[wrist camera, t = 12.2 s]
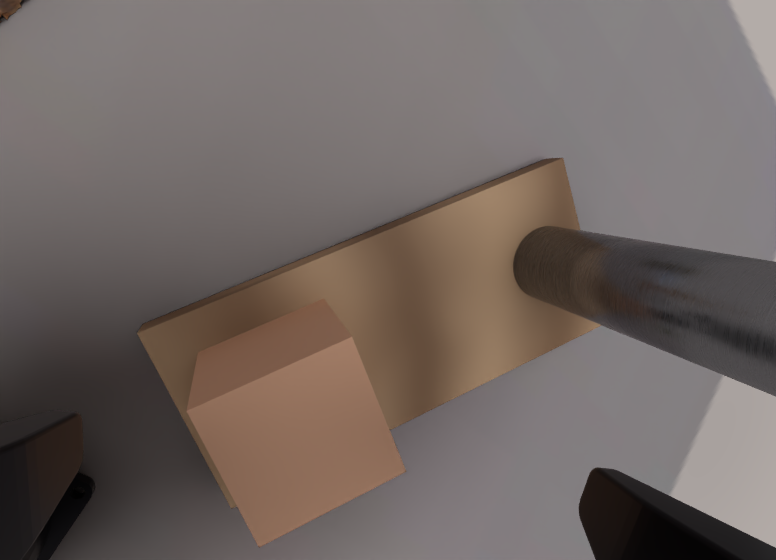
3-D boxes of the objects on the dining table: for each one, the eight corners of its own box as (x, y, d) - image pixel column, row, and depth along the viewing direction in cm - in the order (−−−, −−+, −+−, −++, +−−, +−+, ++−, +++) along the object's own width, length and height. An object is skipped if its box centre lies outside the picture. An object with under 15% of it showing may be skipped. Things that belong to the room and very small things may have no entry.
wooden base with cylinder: (231, 491, 22) (229, 890, 10) (142, 323, 19) (-6, 571, 7) (586, 317, 25) (914, 450, 13) (546, 158, 23) (898, 140, 11)
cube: (253, 461, 20) (258, 547, 16) (197, 352, 19) (186, 411, 14) (367, 405, 21) (406, 471, 17) (323, 298, 20) (352, 336, 15)
